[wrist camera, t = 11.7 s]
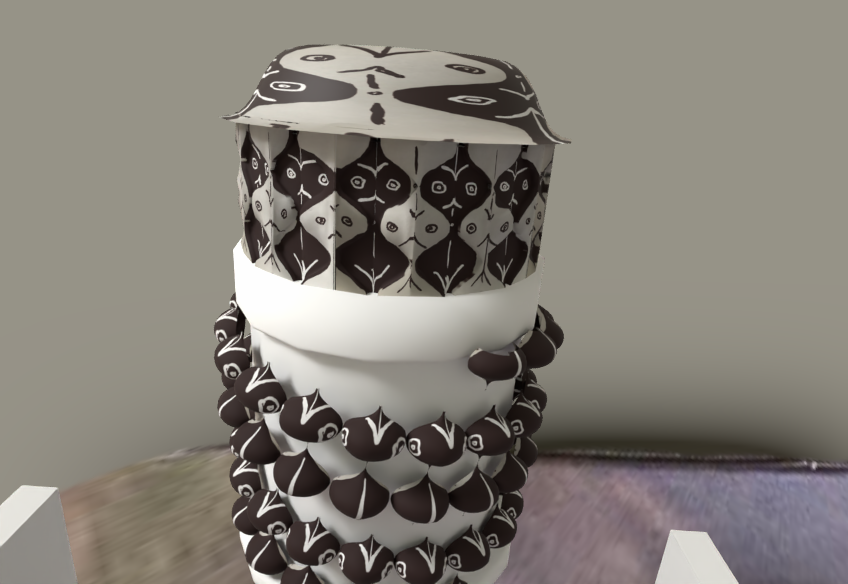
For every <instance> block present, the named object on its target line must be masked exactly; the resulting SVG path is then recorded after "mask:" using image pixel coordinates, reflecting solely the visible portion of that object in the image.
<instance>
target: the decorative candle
mask: <svg viewBox="0 0 848 584" xmlns="http://www.w3.org/2000/svg"><path fill="white" fill-rule="evenodd" d="M220 118H224V119H226V120H229V121H232V122H236V143H237V146H238V150H239V154H240V168H239V174H238V178H237V180H238V189H239V200H238V203H239V207H240V210H241V214H242V220H243V225H244V233H243V237H242V239H241V240H240V241H239V242H238V244H237V245H236V247H235V248H234V249H233V251H234V252H233V253H234V270H235V287H236V292H235V294H233V296H232V297H231V300H230V308H231V309H229V310H227V311H225V312H224V313H222V314H221V315H220V316H219V317H218V319H217V320H216V322H215V326H214V333H215V336H216V338H217V340H218V341H219V342H220V344H219V345H218V346H217V348H216V350H215V356H214V359H215V364H216V366H217V368H218V370H219V371H220V372H221V373H222V382H223V384H224V386H225V387H226V388H227V390H226V391H225V392H223V394H222V395H221V396H220V398H219V400H218V412H219V415H220V417H221V419H222V420H223V421H224V422H225V423H226V424H228V425H230V426H232V427H235V428H234V430H233V432H232V434H231V436H230V448H231V451H232V453H233V454H234V455H235V456H236V457H238V458H237V459H236V460H235V461H234V462H233V464H232V466H231V469H230V481H231V484H232V487H233V488H234V489H235V491H236V492H238V493H239V494H240V495H242V496H241V497H240V498H239V499H237V501H236V502H235V503H234V505H233V508H232V519H233V522H234V525H235V526H236V528H237V529H238V530H239V531H240V539H241V542H242V546H243V549H244V552H245V556H246V560H247V562H248V565H249V568H250V571H251V574H252V578H253V581H254V582H255V583H256V584H494V583H495V581H496V580H497V579H498V578H499V576H500V575H501V574H502V572H503V571H504V570H505V568H506V567H507V564H508V558H509V551H510V544H511V541H512V540H513V538H514V537H515V534H516V531H517V523H516V521H515V519H516V518H517V517H519V515H520V514H521V512H522V510H523V497H522V494H521V493H520V491H519V489H520V488H522V487H523V485H524V484H525V483H526V481H527V478H528V469H527V468H528V467H530V466H531V465H533V463H534V462H535V461H536V458H537V447H536V444H535V442H534V441H533V440H532V439H531V435H532V434H533V433H535V432H536V431H537V430H538V429H539V428H540V426H541V423H542V418H543V417H542V413H541V412H542V411H543V409H544V408H545V406H546V402H547V396H546V393H545V391H544V389H543V388H542V387H541V386H540V385H538V384H537V380H536V376H535V374H534V373H533V372H532V371H531V370H530V369H532V368H540V367H543V366H546V365H548V364H549V363H551V362H552V361H553V360H554V358H555V356H556V354H557V349H558V348H559V347H560V346H561V345H562V343H563V339H564V334H563V331H562V329H561V328H560V326H559V325H558V324H557V323H555V322H554V319H553V317H552V315H551V314H550V313H549V312H548V311H547V310H545V309H544V308H543V307H541V306H540V305H539V304H538V300H539V294H540V287H541V280H542V274H543V268H544V260H545V258H544V257H543V256H542V255H540V254H539V250H540V244H541V236H542V229H543V223H544V216H545V209H546V203H547V196H548V189H549V183H550V175H551V169H552V162H553V155H554V149H555V144H564V143H571V139H567V138H563V137H561V136H559V135H557V134H556V133H555V132H553V130H552V129H551V128H550V127H549V125H548V123H547V122H546V120H545V118H544V115H543V113H542V110H541V108H540V105H539V103H538V100H537V97H536V94H535V92H534V90H533V88H532V85H531V83H530V82H529V81H528V79H527V77H526V76H525V75H524V74H523V73H522V72H521V71H520V70H519V69H517V68H516V67H515V66H513V65H511V64H510V63H508V62H506V61H500V60H496V59H491V58H486V57H481V56H474V55H467V54H459V53H451V52H443V51H434V50H423V49H411V48H400V47H385V46H365V45H305V46H298V47H293V48H290V49H287V50H285V51H283V52H282V53H280V54H279V55H278V56H277V57H276V58H275V59H274V60H273V61H272V63H271V64H270V65H269V67H268V68H267V70H266V72H265V73H264V75H263V77H262V79H261V81H260V83H259V85H258V87H257V89H256V91H255V93H254V94H253V96H252V98H251V100H250V101H249V102H248V103H247V105H246V106H245V107H244V108H243V109H242V110H240V111H239V112H236V113H235V114H232V115H226V116H222V117H220ZM245 319H247V320H248V321H249V323H250V325H251V333H250V334H248V335H247V336H246V337H245V338H244V339H243V337H244V329H245ZM526 333H527V334H526ZM525 334H526V335H525ZM523 335H525V337H524V338H523V339H522V340H521V337H522V336H523ZM250 362H252V364H253V367H251V368H250ZM517 397H518V399H517V400H516V402H515V403H514V404H513V405H512V400H513V401H514V399H516V398H517ZM513 445H515V452H514V455H513V454H511V453H510V451H509V450H510V449H511V448H512V446H513Z"/></svg>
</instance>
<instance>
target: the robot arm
mask: <svg viewBox="0 0 848 584" xmlns="http://www.w3.org/2000/svg"><path fill="white" fill-rule="evenodd" d="M0 584H78V583H77V578H76V573H75V568H74V563H73V558H72V553H71V548H70V544H69V539H68V534H67V529H66V524H65V519H64V514H63V509H62V504H61V500H60V495H59V490H58V488H54V487H40V486H24V485H22V486H21V487H20V488H19V489H17V490H16V491H15V492H14V493H13V494H12V495H11V496H10V497H9V498H8V499H7V500H6V501H5V502H3V503H2V505H1V506H0ZM655 584H739V583H738V582H737V580H736V579H735V577H734V575H733V574H732V572H731V571H730V569H729V567H728V566H727V564H726V563H725V561H724V560H723V558H722V556H721V555H720V553H719V552H718V550H717V549H716V547H715V545H714V544H713V542H712V541H711V539H710V538H709V536H708V534H707V533H706V532H694V531H679V530H671V531H670V534H669V538H668V541H667V545H666V548H665V551H664V555H663V558H662V562H661V565H660V569H659V572H658V575H657V579H656V582H655Z"/></svg>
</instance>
